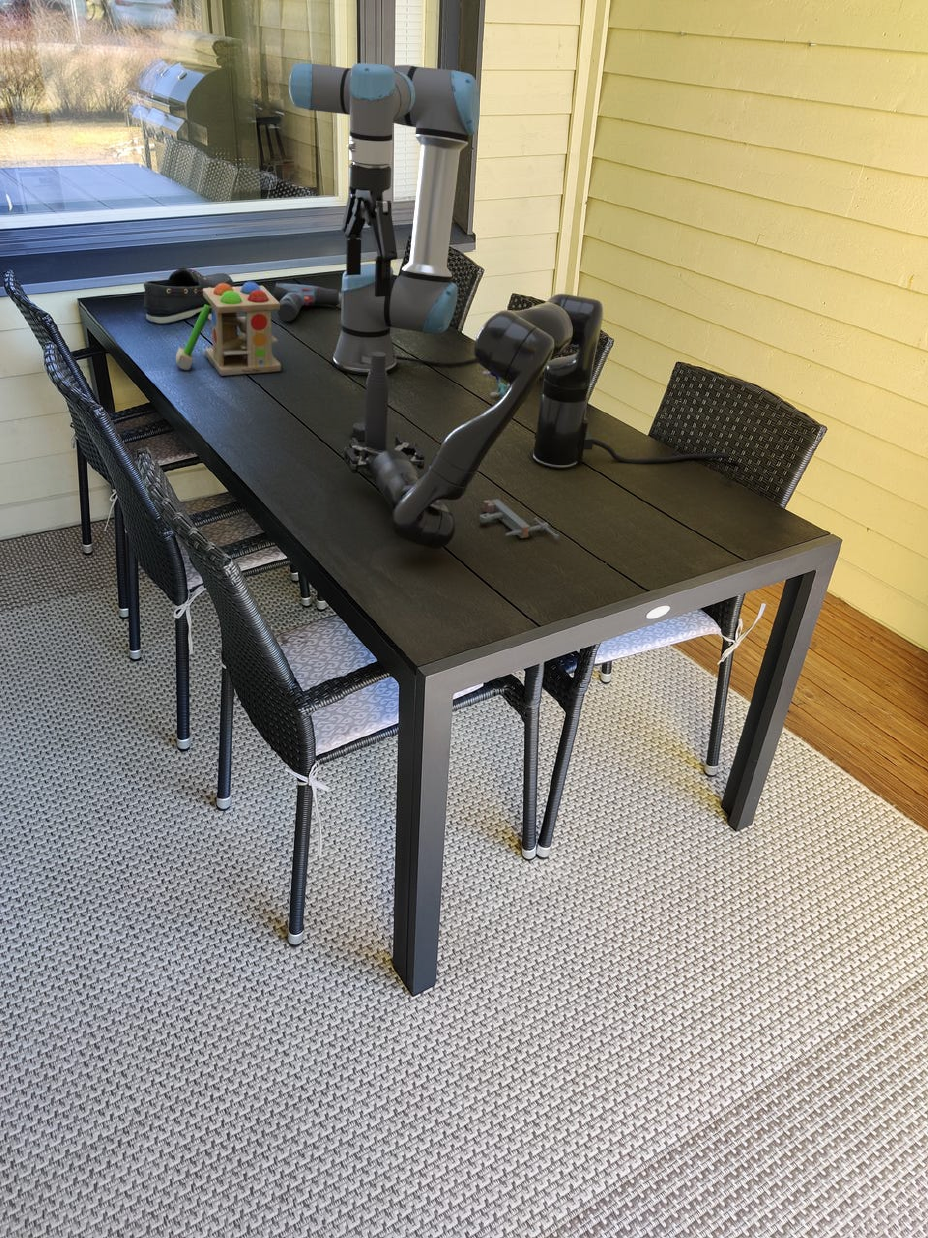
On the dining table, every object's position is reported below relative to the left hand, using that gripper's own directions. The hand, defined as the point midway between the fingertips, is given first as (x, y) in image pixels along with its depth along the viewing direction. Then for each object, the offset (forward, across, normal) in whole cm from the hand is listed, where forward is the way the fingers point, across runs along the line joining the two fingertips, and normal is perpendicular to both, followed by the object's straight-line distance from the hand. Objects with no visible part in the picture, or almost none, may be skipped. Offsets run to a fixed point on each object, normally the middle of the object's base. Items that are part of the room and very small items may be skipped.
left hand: (367, 284), depth 186 cm
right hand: (+24, +16, -5) cm, 30 cm away
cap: (+29, 0, 0) cm, 29 cm away
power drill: (+32, -79, +17) cm, 87 cm away
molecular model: (+31, -9, +39) cm, 51 cm away
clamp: (+31, +45, +10) cm, 55 cm away
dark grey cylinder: (+31, +16, -5) cm, 35 cm away
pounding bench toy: (+31, -47, -15) cm, 58 cm away
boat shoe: (+32, -90, -11) cm, 96 cm away
